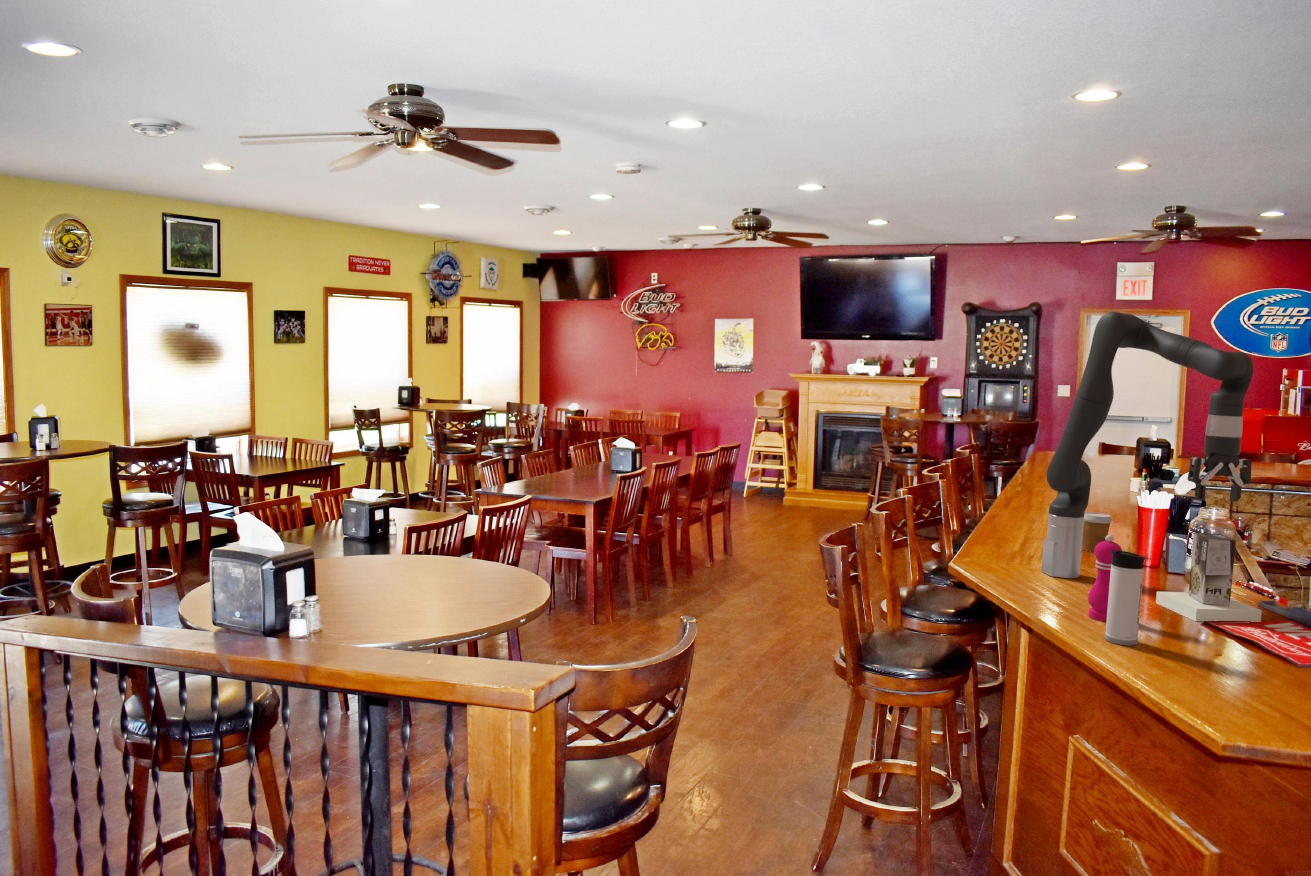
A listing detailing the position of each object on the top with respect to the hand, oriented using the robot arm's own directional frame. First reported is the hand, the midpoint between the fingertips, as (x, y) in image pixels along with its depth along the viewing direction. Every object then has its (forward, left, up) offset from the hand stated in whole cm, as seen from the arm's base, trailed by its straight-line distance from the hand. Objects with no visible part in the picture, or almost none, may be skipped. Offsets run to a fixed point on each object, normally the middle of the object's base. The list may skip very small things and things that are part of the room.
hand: (1217, 500), depth 225 cm
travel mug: (-36, -25, -28) cm, 52 cm away
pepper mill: (-30, -7, -28) cm, 42 cm away
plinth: (0, 0, -28) cm, 28 cm away
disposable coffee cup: (+10, +72, -28) cm, 78 cm away
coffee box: (0, 0, -25) cm, 25 cm away
